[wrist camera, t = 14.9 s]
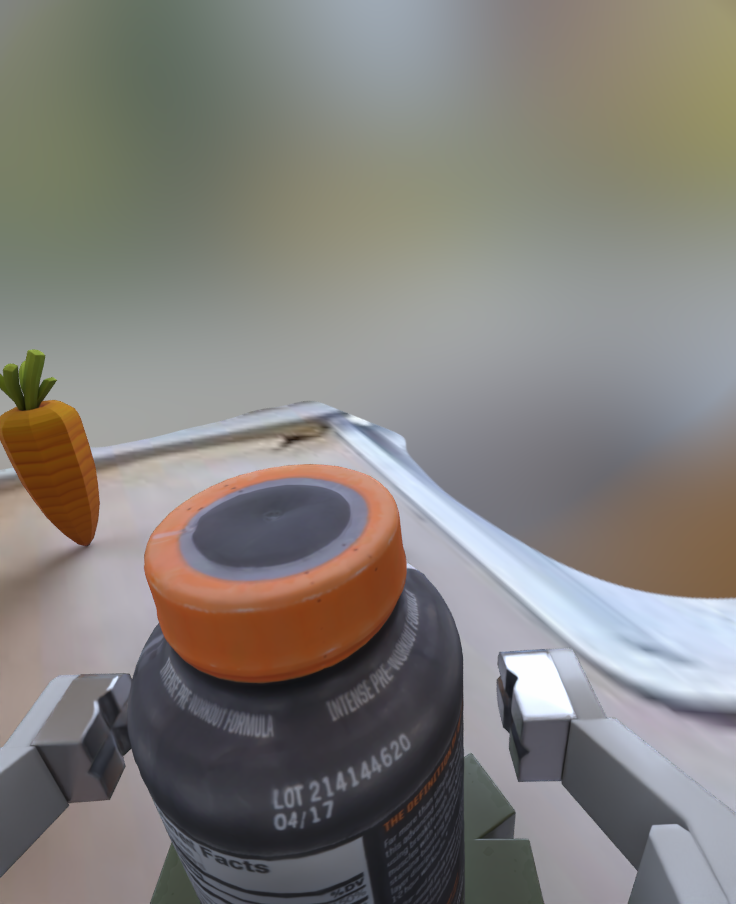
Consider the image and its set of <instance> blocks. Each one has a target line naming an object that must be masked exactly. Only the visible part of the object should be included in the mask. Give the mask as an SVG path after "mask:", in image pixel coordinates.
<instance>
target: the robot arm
mask: <svg viewBox="0 0 736 904" xmlns="http://www.w3.org/2000/svg"><path fill="white" fill-rule="evenodd" d="M497 665H498V668H499V672H500V675H501V676H500V677H499V678H498V679H497V701H498V708H499V713H500V717H501V721H502V725H503V728H505V729H506V730H507V731H508V732H509V733H510V737H509V751H510V754H511V758H512V761H513V765H514V768H515V772H516V776H517V779H518V782H536V781H562V783H561V784H562V785H563V786H564V787H565V788H566V789H567V790H568V792H569V793H570V794H571V795H572V796H573V797H574V799H575V800H576V801H577V802H578V803H579V804H580V805H581V807H582V808H583V809H584V810H585V811H586V812H587V813H588V815H589V816H590V817H591V818H592V819H593V820H594V821H595V823H596V824H597V825H598V826H599V827H600V828H601V830H602V831H603V832H604V833H605V834H606V835H607V836H608V838H609V839H610V840H611V841H612V842H613V843H614V844H615V846H616V847H617V848H618V849H619V850H620V851H621V852H622V854H623V855H624V856H625V857H626V858H627V859H628V861H629V862H630V863H631V864H632V865H633V866H634V867H635V869H636V870H637V871H638V872H637V876H636V879H635V882H634V885H633V889H632V892H631V895H630V898H629V902H628V904H736V813H735V812H734V811H732V810H731V809H730V808H728V807H727V806H726V805H725V804H723V803H722V802H721V801H720V800H718V799H717V798H716V797H715V796H713V795H712V794H711V793H709V792H708V791H707V790H706V789H704V788H703V787H702V786H701V785H699V784H698V783H697V782H696V781H694V780H693V779H692V778H690V777H689V776H688V775H687V774H685V773H684V772H683V771H682V770H680V769H679V768H678V767H676V766H675V765H674V764H673V763H671V762H670V761H669V760H668V759H666V758H665V757H664V756H663V755H661V754H660V753H659V752H657V751H656V750H655V749H654V748H652V747H651V746H650V745H649V744H647V743H646V742H645V741H644V740H642V739H641V738H640V737H638V736H637V735H636V734H635V733H633V732H632V731H631V730H630V729H628V728H627V727H626V726H625V725H623V724H622V723H621V722H619V721H618V720H617V719H616V718H607V716H606V714H605V712H604V710H603V708H602V706H601V704H600V702H599V700H598V698H597V696H596V694H595V692H594V690H593V688H592V686H591V684H590V682H589V680H588V678H587V676H586V674H585V672H584V670H583V668H582V666H581V664H580V662H579V660H578V658H577V656H576V654H575V652H574V651H573V650H572V649H571V648H561V649H546V650H545V649H539V650H524V651H509V652H499V655H498V664H497ZM131 682H132V678H131V676H130V674H125V673H118V674H81V675H59V676H57V677H56V678H55V679H53V680H52V681H51V682H50V683H49V684H48V686H47V687H46V688H45V690H44V691H43V692H42V694H41V695H40V697H39V698H38V699H37V701H36V702H35V704H34V705H33V706H32V708H31V709H30V710H29V712H28V713H27V715H26V716H25V717H24V719H23V720H22V721H21V723H20V724H19V726H18V727H17V728H16V730H15V731H14V733H13V734H12V735H11V737H10V738H9V739H8V741H7V742H6V744H5V745H4V746H3V748H0V878H1V877H2V876H3V875H4V873H5V872H6V871H7V870H8V869H9V868H10V867H11V866H12V865H13V864H14V863H15V862H16V861H17V860H18V859H19V858H20V857H21V856H22V855H23V854H24V852H25V851H26V850H27V849H28V848H29V847H30V846H31V845H32V844H33V843H34V842H35V841H36V840H37V839H38V838H39V837H40V836H41V835H42V834H43V832H44V831H45V830H46V829H47V828H48V827H49V826H50V825H51V824H52V823H53V822H54V821H55V820H56V819H57V818H58V817H59V816H60V815H61V814H62V813H63V811H64V810H65V809H66V808H67V807H68V806H69V804H68V803H76V802H89V801H102V800H110V798H111V796H112V794H113V792H114V790H115V788H116V786H117V783H118V781H119V779H120V777H121V775H122V773H123V771H124V768H125V762H124V757H123V756H124V755H125V754H126V753H127V752H128V751H129V750H130V749H131V743H130V739H129V734H128V722H127V711H128V699H129V694H130V688H131Z"/></svg>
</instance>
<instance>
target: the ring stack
mask: <svg viewBox="0 0 736 904" xmlns="http://www.w3.org/2000/svg"><path fill="white" fill-rule="evenodd" d="M515 814H516V812H515V810H514V809H513V807H512V806H511V805H510V803H509V802H508V801H507V799H506V798H505V797H504V795H503V794H502V793H501V791H500V790H499V789H498V787H497V786H496V785H495V784H494V782H493V781H492V780H491V778H490V777H489V776H488V774H487V773H486V772H485V770H484V769H483V768H482V766H481V765H480V764H479V762H478V761H477V760H476V758H475V757H474V756H473V754H472V753H470V754H468V755H467V756H465V757H464V843H465V904H544V901H543V897H542V893H541V888H540V884H539V880H538V876H537V871H536V867H535V863H534V858H533V854H532V850H531V846H530V841H529V840H528V839H513V838H514V826H515ZM150 904H201V903H200V901H199V899H198V897H197V895H196V892H195V890H194V888H193V885H192V883H191V881H190V879H189V877H188V875H187V873H186V871H185V869H184V867H183V864H182V862H181V860H180V858H179V856H178V853H177V851H176V849H175V847H174V845H173V843H171V846H170V849H169V851H168V854H167V857H166V860H165V863H164V865H163V868H162V871H161V874H160V877H159V879H158V882H157V885H156V888H155V891H154V894H153V896H152V899H151V902H150Z"/></svg>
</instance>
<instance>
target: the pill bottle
mask: <svg viewBox="0 0 736 904" xmlns="http://www.w3.org/2000/svg"><path fill="white" fill-rule="evenodd" d="M144 562H145V565H144V570H145V575H146V578H147V581H148V585H149V587H150V590H151V593H152V596H153V599H154V602H155V605H156V608H157V616H158V620H159V624H158V625H157V626H156V627H155V629H154V630H153V632H152V634H151V635H150V637H149V639H148V641H147V642H146V644H145V646H144V648H143V650H142V653H141V655H140V657H139V660H138V662H137V665H136V668H135V672H134V675H133V679H132V682H131V688H130V694H129V699H128V711H127V722H128V734H129V739H130V743H131V748H132V752H133V756H134V759H135V762H136V764H137V766H138V768H139V771H140V774H141V777H142V779H143V781H144V783H145V785H146V786H147V788H148V790H149V793H150V795H151V797H152V799H153V801H154V804H155V806H156V808H157V810H158V812H159V814H160V817H161V819H162V821H163V823H164V825H165V828H166V830H167V832H168V835H169V837H170V839H171V841H172V843H173V845H174V847H175V849H176V851H177V853H178V856H179V858H180V860H181V862H182V864H183V867H184V869H185V871H186V873H187V875H188V877H189V879H190V881H191V883H192V885H193V888H194V890H195V892H196V895H197V897H198V899H199V901H200V903H201V904H465V843H464V748H463V654H462V647H461V642H460V637H459V634H458V630H457V627H456V624H455V621H454V619H453V616H452V614H451V612H450V610H449V608H448V606H447V604H446V603H445V601H444V599H443V598H442V596H441V595H440V593H439V592H438V590H437V589H436V588H435V587H434V586H433V584H432V583H431V582H430V581H429V580H428V579H427V578H426V576H425V575H424V574H423V573H421V572H420V571H418V570H417V569H415V568H414V567H413V566H411V565H410V564H408V563H407V562H406V555H405V552H404V548H403V544H402V535H401V526H400V517H399V512H398V508H397V505H396V502H395V500H394V498H393V496H392V495H391V494H390V492H389V491H388V490H387V489H386V488H385V487H384V486H383V485H382V484H381V483H379V482H378V481H377V480H375V479H374V478H372V477H371V476H368V475H366V474H364V473H361V472H358V471H355V470H351V469H347V468H343V467H339V466H329V465H318V464H304V465H288V466H281V467H274V468H268V469H263V470H258V471H254V472H251V473H247V474H243V475H239V476H236V477H234V478H230V479H227V480H225V481H223V482H221V483H218V484H216V485H214V486H211V487H209V488H208V489H206V490H204V491H202V492H200V493H198V494H196V495H194V496H193V497H191V498H190V499H188V500H187V501H185V502H184V503H182V504H181V505H179V506H178V507H177V508H176V509H174V510H173V511H172V512H171V513H169V514H168V516H167V517H166V518H165V519H164V520H163V521H162V522H161V523H160V524H159V525H158V526H157V527H156V529H155V530H154V532H153V533H152V534H151V536H150V538H149V541H148V543H147V546H146V551H145V555H144Z"/></svg>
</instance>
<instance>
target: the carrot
mask: <svg viewBox="0 0 736 904" xmlns="http://www.w3.org/2000/svg"><path fill="white" fill-rule="evenodd" d="M44 360H45V355H44V354H43V353H42V352H40V351H39V350H28V352H27V357H26V361H24V362H23V363H22V364H21V366H20V369H19V373H18V366H17V365H15V364H8V365H6V366H5V368H4V369H3V376H2V375H1V374H0V388H1V390H2V391H4V392H5V393H6V394H7V395H8V396H9V397H10V398H11V399H12V400H13V401H14V402H15V404H16V406H17V407H15V408H13V409H11V410H9V411H7V412H5V413H4V414H3V415H1V416H0V441H1V443H2V445H3V447H4V449H5V451H6V453H7V456H8V458H9V460H10V462H11V463H12V466H13V467H14V469H15V471H16V473H17V475H18V477H19V479H20V481H21V483H22V484H23V486H24V487H25V489H26V490H27V492H28V493H29V494H30V496H31V497H32V499H33V500H34V502H35V503H36V504H37V505H38V507H39V508H40V509H41V511H42V512H43V513H44V515H45V516H46V517H47V518H48V519H49V520H50V521H51V522H52V523H53V524H54V525H55V526H56V527H57V528H58V529H59V530H60V531H61V532H62V533H63V534H64V535H66V536H67V537H69V538H70V539H71V540H73V541H74V542H76V543H77V544H79V545H83V546H88V545H89V544H90V543H91V541H92V540H93V538H94V535H95V531H96V527H97V523H98V516H99V505H100V501H99V491H98V482H97V475H96V468H95V464H94V460H93V457H92V453H91V450H90V446H89V443H88V439H87V436H86V433H85V430H84V427H83V424H82V421H81V418H80V416H79V414H78V412H77V411H76V410H75V408H73V407H71V406H69V405H67V404H65V403H63V402H61V401H57V400H49V401H43V400H44V398H45V397H46V395H47V394H48V392H49V391H50V389H51V388H52V387H53V385H54V384H55V382H56V381H57V380H56V379H55V378H53V377H51V378H48V379H45V380H43V382H42V384H41V385H40V387H39V384H40V378H41V374H42V370H43V366H44ZM19 379H20V385H19ZM20 386H21V388H20ZM21 389H22V391H21ZM22 392H23V393H22ZM23 394H24V396H23Z"/></svg>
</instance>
